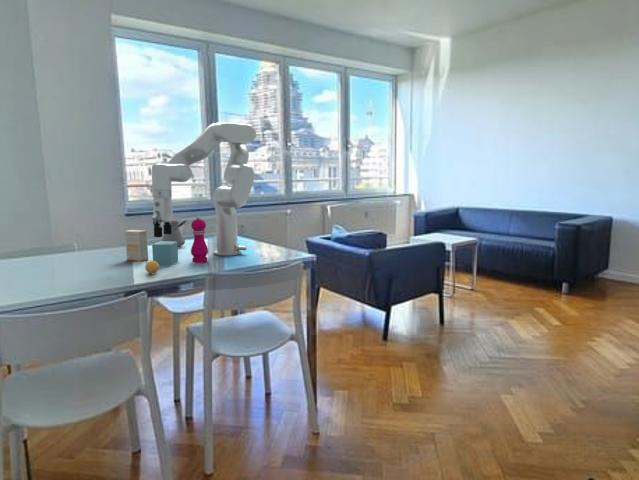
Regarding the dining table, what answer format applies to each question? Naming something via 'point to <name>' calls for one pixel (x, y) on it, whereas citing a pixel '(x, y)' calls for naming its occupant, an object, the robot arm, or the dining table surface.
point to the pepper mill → (199, 241)
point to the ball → (152, 267)
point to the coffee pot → (175, 234)
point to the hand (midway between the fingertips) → (163, 235)
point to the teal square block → (165, 253)
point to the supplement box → (136, 245)
